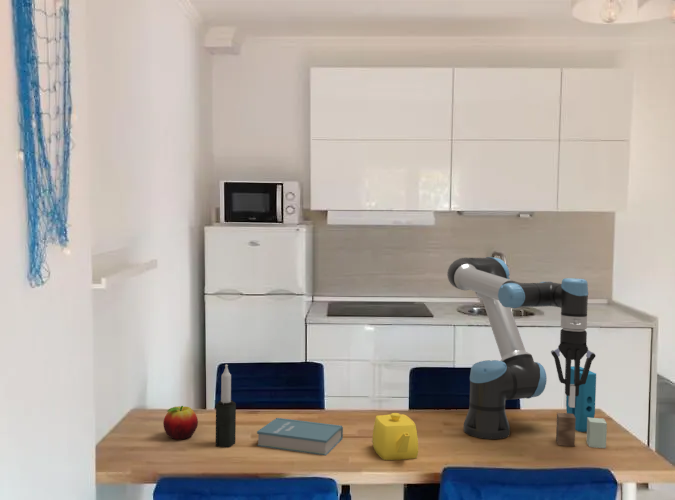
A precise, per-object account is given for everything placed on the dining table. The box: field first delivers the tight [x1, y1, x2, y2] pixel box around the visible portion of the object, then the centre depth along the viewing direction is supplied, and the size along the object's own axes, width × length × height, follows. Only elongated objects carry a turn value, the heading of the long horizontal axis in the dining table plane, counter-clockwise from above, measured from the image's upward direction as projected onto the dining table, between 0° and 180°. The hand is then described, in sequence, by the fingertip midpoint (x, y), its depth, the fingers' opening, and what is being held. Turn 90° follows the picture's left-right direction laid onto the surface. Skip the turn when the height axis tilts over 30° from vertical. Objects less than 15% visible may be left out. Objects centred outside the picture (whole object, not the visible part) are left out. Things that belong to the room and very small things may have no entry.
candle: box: [215, 364, 237, 448], centre depth 201 cm, size 5×5×25 cm
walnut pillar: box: [555, 412, 576, 447], centre depth 208 cm, size 5×5×9 cm
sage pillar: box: [585, 417, 608, 449], centre depth 207 cm, size 5×5×8 cm
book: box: [256, 417, 344, 456], centre depth 205 cm, size 23×16×5 cm
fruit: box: [163, 405, 199, 440], centre depth 208 cm, size 11×11×10 cm
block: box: [565, 365, 597, 433], centre depth 225 cm, size 12×5×20 cm, turn 8°
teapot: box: [371, 412, 419, 461], centre depth 197 cm, size 20×12×12 cm, turn 12°
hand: (571, 406), depth 199 cm, fingers closed
